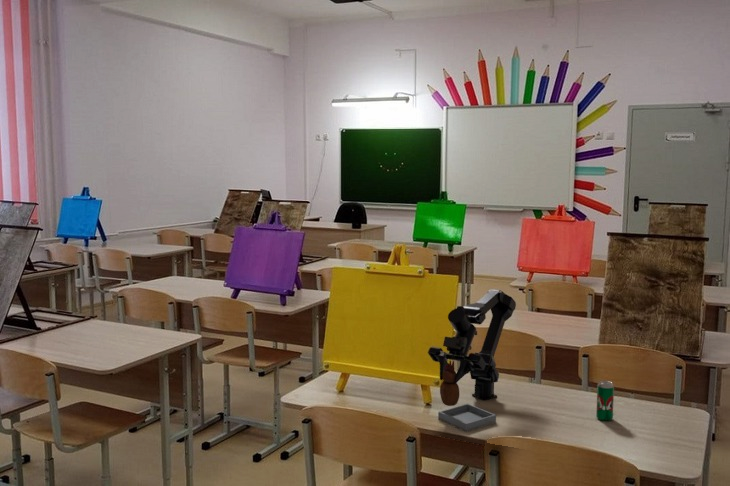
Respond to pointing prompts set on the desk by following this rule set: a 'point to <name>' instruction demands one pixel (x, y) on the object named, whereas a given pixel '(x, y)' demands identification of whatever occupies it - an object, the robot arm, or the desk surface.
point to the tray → (467, 417)
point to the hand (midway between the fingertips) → (447, 380)
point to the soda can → (605, 400)
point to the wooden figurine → (449, 386)
